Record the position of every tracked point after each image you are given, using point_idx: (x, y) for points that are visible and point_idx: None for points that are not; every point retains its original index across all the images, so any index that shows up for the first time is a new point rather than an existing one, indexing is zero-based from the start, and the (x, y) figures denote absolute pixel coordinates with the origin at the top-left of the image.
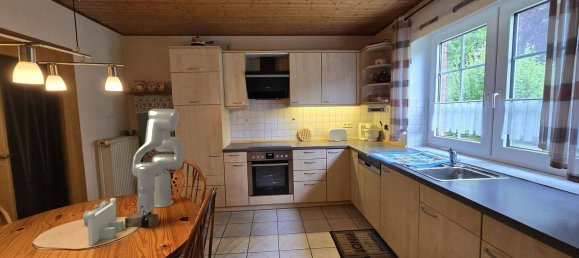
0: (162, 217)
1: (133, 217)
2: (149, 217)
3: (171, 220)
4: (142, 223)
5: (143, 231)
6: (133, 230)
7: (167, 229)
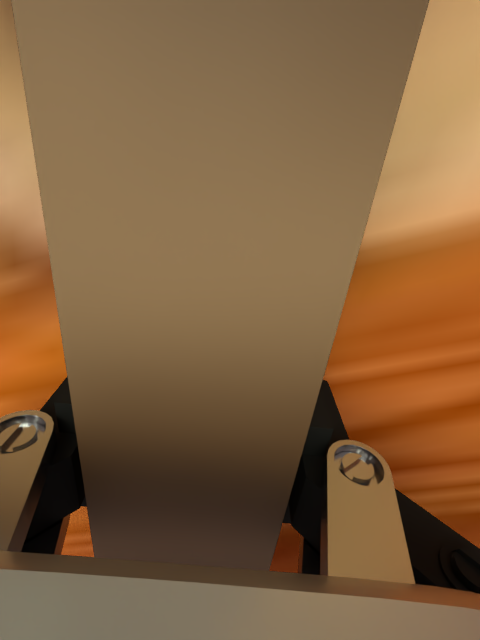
0: (432, 479)
1: (89, 209)
2: (94, 550)
3: (292, 553)
4: (63, 387)
5: (8, 368)
6: (35, 221)
7: (68, 548)
